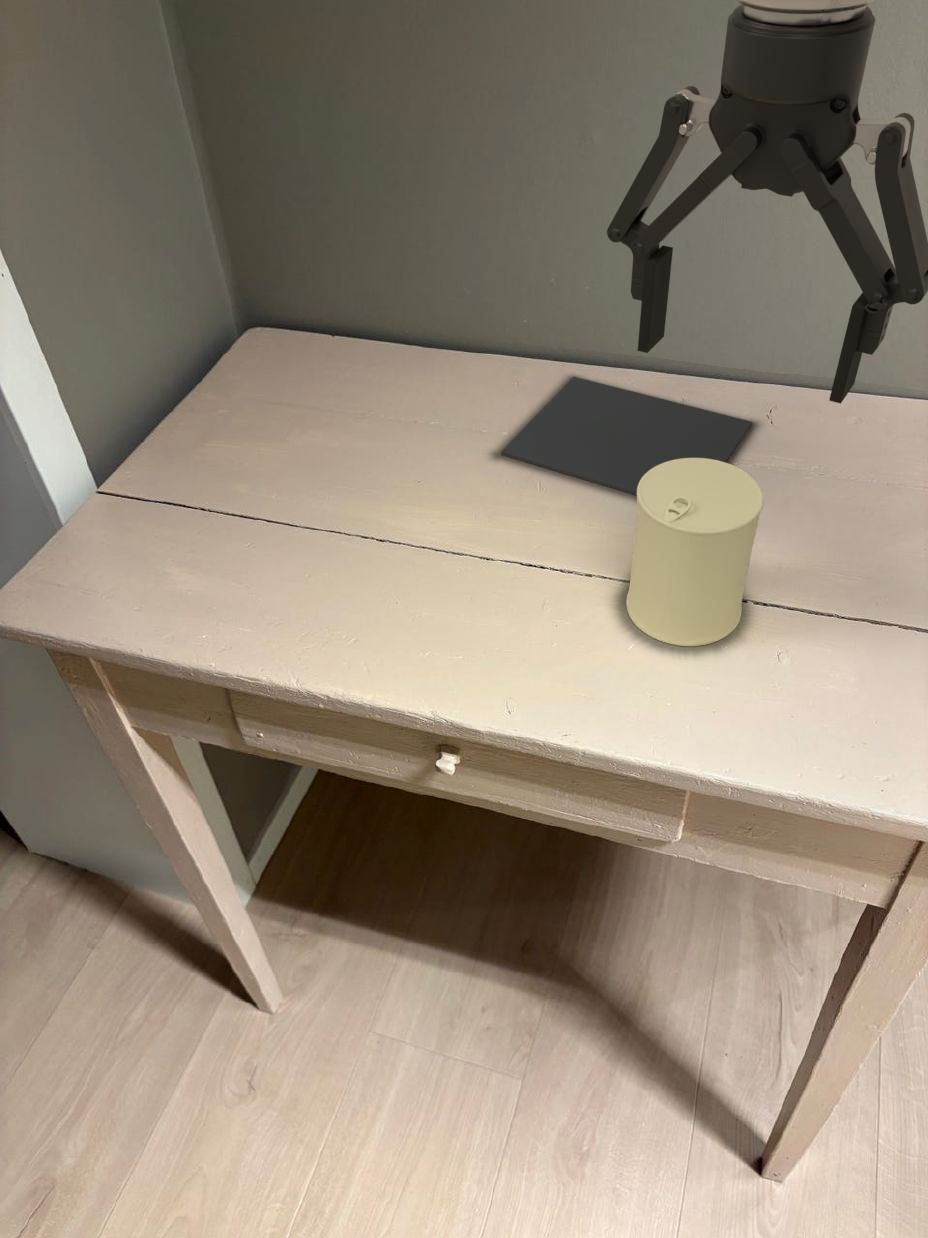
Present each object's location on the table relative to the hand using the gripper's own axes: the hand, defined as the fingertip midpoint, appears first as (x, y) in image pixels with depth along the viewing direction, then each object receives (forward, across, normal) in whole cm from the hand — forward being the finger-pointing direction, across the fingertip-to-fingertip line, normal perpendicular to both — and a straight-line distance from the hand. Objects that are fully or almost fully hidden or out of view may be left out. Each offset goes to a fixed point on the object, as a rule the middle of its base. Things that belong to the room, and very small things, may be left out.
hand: (741, 367), depth 65 cm
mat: (+21, -16, +17) cm, 31 cm away
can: (+21, -1, -3) cm, 21 cm away
